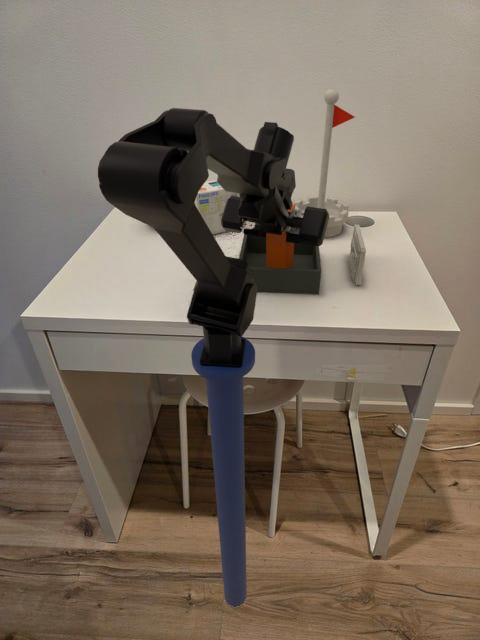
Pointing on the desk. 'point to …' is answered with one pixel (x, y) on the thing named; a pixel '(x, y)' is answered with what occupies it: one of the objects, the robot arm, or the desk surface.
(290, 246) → the block
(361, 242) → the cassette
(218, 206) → the light bulb box
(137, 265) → the desk surface
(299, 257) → the open storage bin
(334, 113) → the flag stand
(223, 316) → the robot arm
